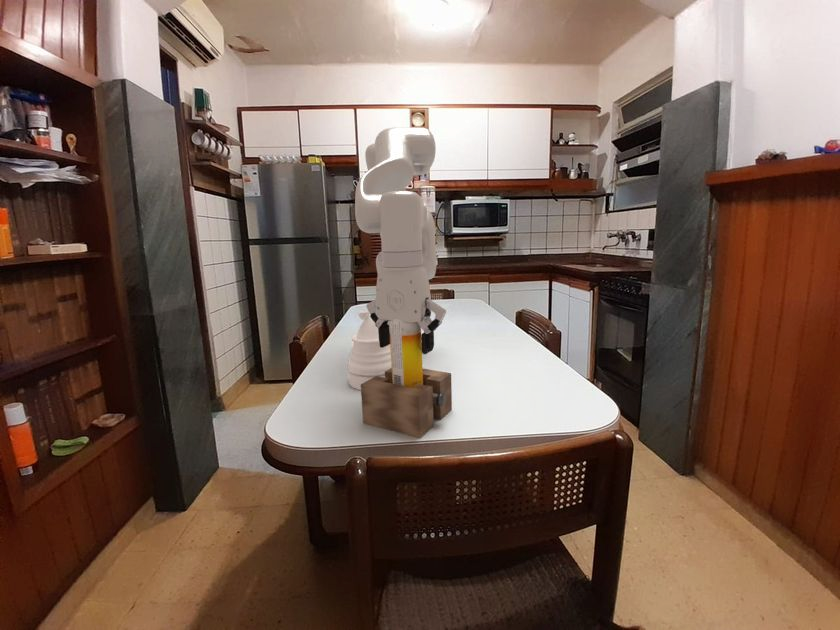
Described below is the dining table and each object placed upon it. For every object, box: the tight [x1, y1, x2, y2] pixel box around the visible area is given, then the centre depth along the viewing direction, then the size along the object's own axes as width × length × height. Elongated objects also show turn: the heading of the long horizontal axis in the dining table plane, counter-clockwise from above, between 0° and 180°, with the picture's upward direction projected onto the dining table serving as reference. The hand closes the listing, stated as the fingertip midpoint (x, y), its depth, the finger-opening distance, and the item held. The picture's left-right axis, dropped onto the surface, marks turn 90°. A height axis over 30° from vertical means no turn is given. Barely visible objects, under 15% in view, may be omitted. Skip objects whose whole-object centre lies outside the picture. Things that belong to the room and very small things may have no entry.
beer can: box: [389, 318, 424, 388], centre depth 78 cm, size 6×6×15 cm
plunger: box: [433, 392, 446, 407], centre depth 77 cm, size 5×3×3 cm, turn 60°
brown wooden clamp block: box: [360, 368, 453, 439], centre depth 80 cm, size 13×13×8 cm
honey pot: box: [347, 310, 392, 391], centre depth 99 cm, size 13×13×18 cm
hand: (405, 348), depth 78 cm, fingers open, 9 cm apart
